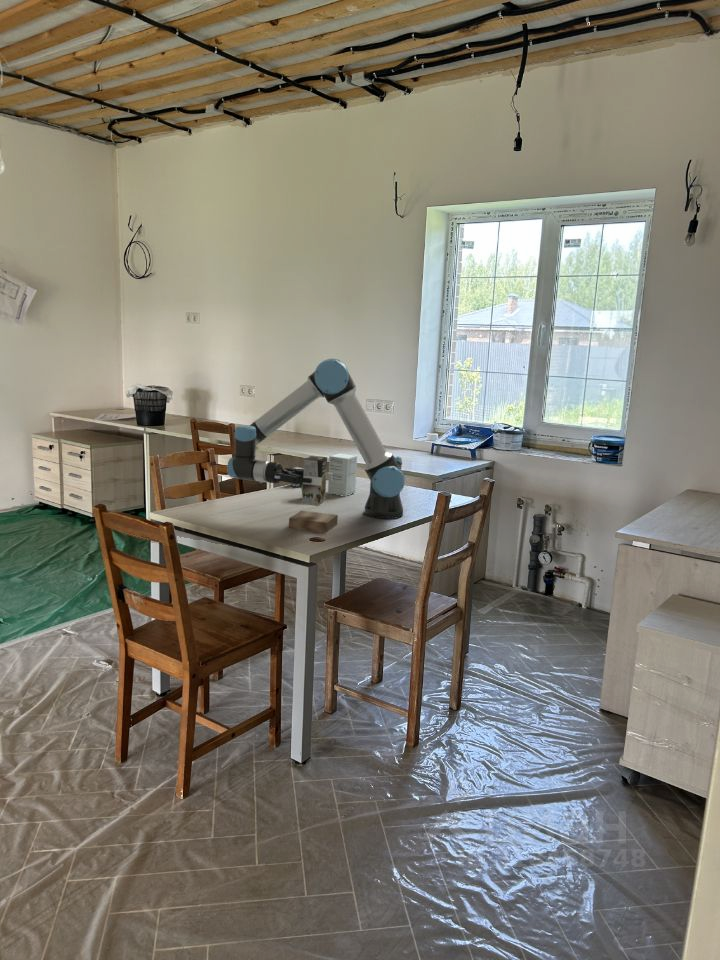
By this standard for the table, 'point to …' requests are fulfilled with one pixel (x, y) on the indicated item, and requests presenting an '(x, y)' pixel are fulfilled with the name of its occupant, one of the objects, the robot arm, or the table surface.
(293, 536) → the table surface
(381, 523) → the table surface
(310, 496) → the coffee box
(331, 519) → the walnut riser block
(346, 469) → the supplement box
